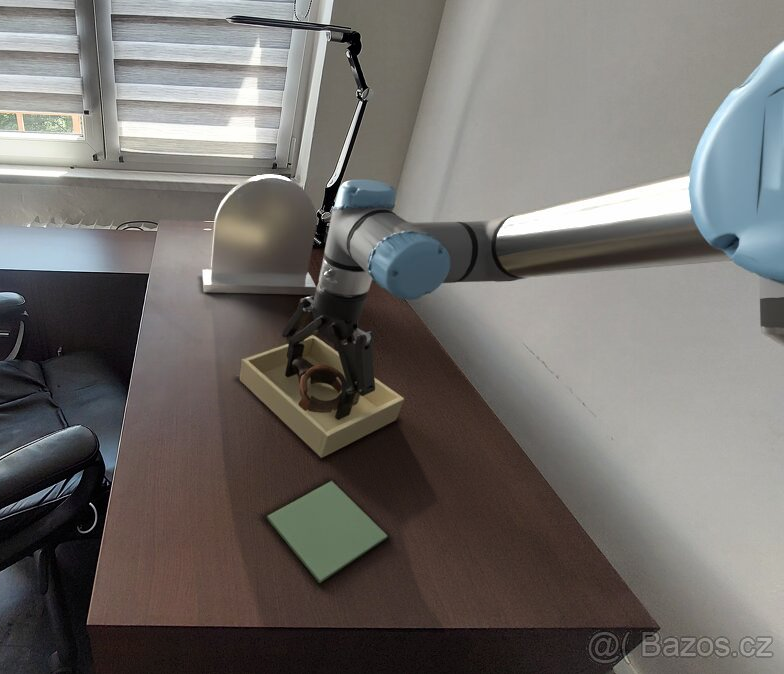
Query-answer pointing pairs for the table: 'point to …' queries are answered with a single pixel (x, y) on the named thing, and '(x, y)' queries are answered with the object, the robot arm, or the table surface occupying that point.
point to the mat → (326, 530)
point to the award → (263, 239)
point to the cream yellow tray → (314, 427)
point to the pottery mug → (317, 376)
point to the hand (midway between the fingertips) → (315, 394)
